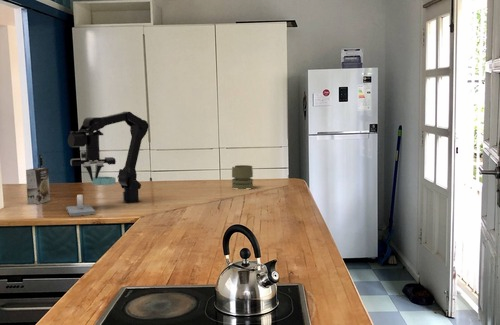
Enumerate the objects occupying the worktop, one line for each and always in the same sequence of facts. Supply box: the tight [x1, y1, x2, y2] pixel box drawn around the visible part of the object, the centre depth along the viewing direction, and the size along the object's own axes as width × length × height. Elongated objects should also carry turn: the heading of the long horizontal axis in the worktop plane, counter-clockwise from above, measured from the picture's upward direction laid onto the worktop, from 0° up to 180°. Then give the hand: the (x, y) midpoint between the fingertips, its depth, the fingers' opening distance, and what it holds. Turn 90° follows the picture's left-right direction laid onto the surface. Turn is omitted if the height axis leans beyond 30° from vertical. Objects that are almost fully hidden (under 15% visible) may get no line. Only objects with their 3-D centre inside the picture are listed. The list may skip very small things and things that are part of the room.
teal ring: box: [91, 176, 117, 186], centre depth 234 cm, size 10×10×2 cm
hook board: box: [65, 194, 96, 217], centre depth 223 cm, size 10×15×8 cm, turn 25°
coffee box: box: [25, 167, 51, 205], centre depth 247 cm, size 9×6×16 cm
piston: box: [231, 164, 254, 189], centre depth 284 cm, size 11×12×11 cm
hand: (93, 180), depth 232 cm, fingers closed on teal ring, 1 cm apart
